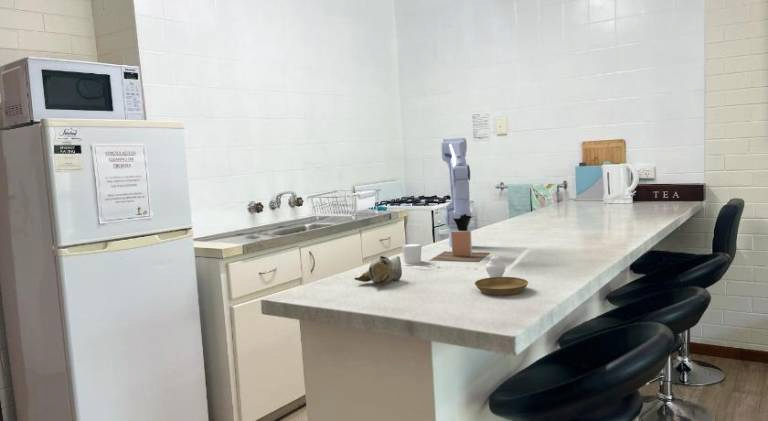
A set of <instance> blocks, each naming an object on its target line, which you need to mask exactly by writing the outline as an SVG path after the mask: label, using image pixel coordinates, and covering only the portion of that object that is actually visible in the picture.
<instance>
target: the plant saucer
mask: <svg viewBox="0 0 768 421" xmlns="http://www.w3.org/2000/svg"><path fill="white" fill-rule="evenodd" d="M528 284H529V281H528V280H527V279H524V278H520V277H515V276H502V277H491V278H490V277H483V278H480V279H477V280H476V281H474V285H475V286H476V287H477V289H478V290H479V291H480V292H482V293H483V294H486V295H489V296H490V295H491V296H500V297H501V296H512V295H516V294H517V295H518V294H520V293H521V292H522V291H524V290H525V288H526V287H527V286H528Z"/></svg>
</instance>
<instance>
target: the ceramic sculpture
mask: <svg viewBox="0 0 768 421" xmlns="http://www.w3.org/2000/svg"><path fill="white" fill-rule="evenodd" d="M401 262H402V261H401V258H400V256H396V257H394V258H391V259H390V258H388V257H387V256H382V255H381V256H380V257H379V259H378V260H375V261H373V262H371V263H370V264H369V267H368V270H367V271H365V272H363V273H362V274H361V275H360V276H359V277H354V278H353V279H354V280H355V281H359V282H363V283H367V282H371V281H372V282H373V284H374V285H377V286H382V285H384V284H386V283H388V282H389V281H391V280H392V281H399V280H401V279H402V276H403V275H402V274H403V269H402V263H401Z"/></svg>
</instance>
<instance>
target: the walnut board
mask: <svg viewBox="0 0 768 421" xmlns="http://www.w3.org/2000/svg"><path fill="white" fill-rule="evenodd" d="M490 254H491V252H481V251H480V252H478V251H472V256H452V251H446V250H445V251H443V252H441V253H439V254H438V255H436V256H434V257H432V258H431V259H429V260H428V261H429V262H456V263H459V262H461V263H480V262H481V261H483V260H484V259H485V258H486V257H487V256H489V255H490Z"/></svg>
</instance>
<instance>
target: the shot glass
mask: <svg viewBox="0 0 768 421" xmlns="http://www.w3.org/2000/svg"><path fill="white" fill-rule="evenodd" d="M422 245H423V244H421V243H406V244H402V245H401V249H402V254H403V262H404V264H407V265H405V267H412V265H411V264H420V263H421V262H422ZM409 264H410V265H409Z"/></svg>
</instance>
